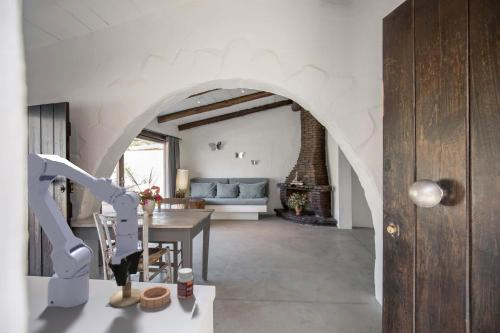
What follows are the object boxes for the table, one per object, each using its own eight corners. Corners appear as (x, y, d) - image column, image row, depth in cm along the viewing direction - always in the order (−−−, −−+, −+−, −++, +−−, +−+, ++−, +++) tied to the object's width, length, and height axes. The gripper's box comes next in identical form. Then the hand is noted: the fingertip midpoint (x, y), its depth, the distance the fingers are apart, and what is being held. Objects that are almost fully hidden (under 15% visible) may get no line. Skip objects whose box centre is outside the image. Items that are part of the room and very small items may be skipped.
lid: (103, 306, 73) (103, 290, 73) (118, 291, 82) (118, 276, 82) (136, 306, 74) (136, 290, 74) (147, 290, 83) (147, 276, 83)
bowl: (135, 311, 73) (135, 299, 73) (146, 296, 81) (146, 285, 81) (165, 311, 73) (165, 299, 73) (173, 296, 81) (173, 285, 81)
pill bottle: (189, 303, 78) (189, 274, 78) (174, 301, 79) (174, 273, 78) (195, 295, 82) (196, 268, 82) (181, 293, 83) (181, 266, 83)
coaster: (105, 309, 74) (105, 306, 74) (119, 294, 82) (119, 291, 82) (135, 309, 74) (135, 306, 74) (146, 294, 82) (146, 291, 82)
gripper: (130, 240, 71) (130, 291, 71) (149, 226, 85) (149, 269, 85) (103, 240, 70) (103, 291, 71) (127, 227, 85) (127, 269, 85)
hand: (127, 279), depth 78 cm, fingers open, 7 cm apart
